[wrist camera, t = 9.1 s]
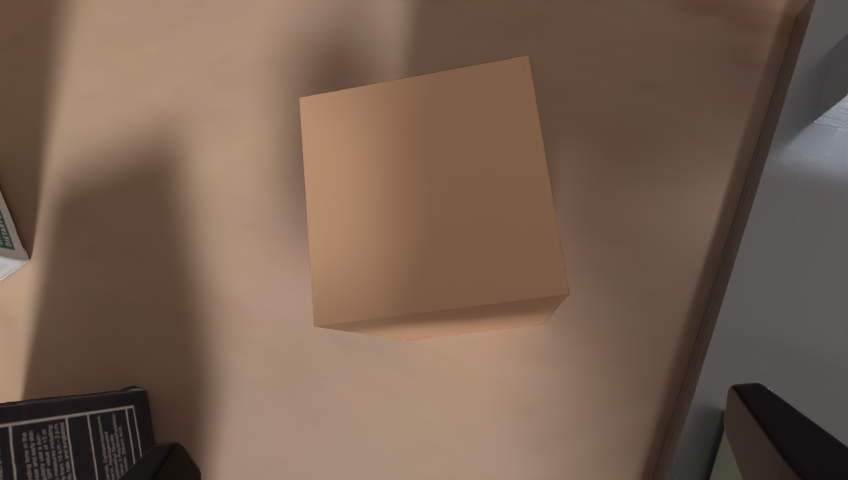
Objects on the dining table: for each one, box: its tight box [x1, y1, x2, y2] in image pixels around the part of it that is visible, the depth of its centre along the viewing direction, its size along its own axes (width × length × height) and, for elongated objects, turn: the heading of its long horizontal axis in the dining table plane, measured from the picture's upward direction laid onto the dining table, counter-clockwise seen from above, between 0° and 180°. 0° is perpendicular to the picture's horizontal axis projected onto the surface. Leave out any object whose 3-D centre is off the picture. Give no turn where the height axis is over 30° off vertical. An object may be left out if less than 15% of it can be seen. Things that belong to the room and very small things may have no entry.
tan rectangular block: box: [299, 55, 569, 340], centre depth 16 cm, size 5×5×10 cm
